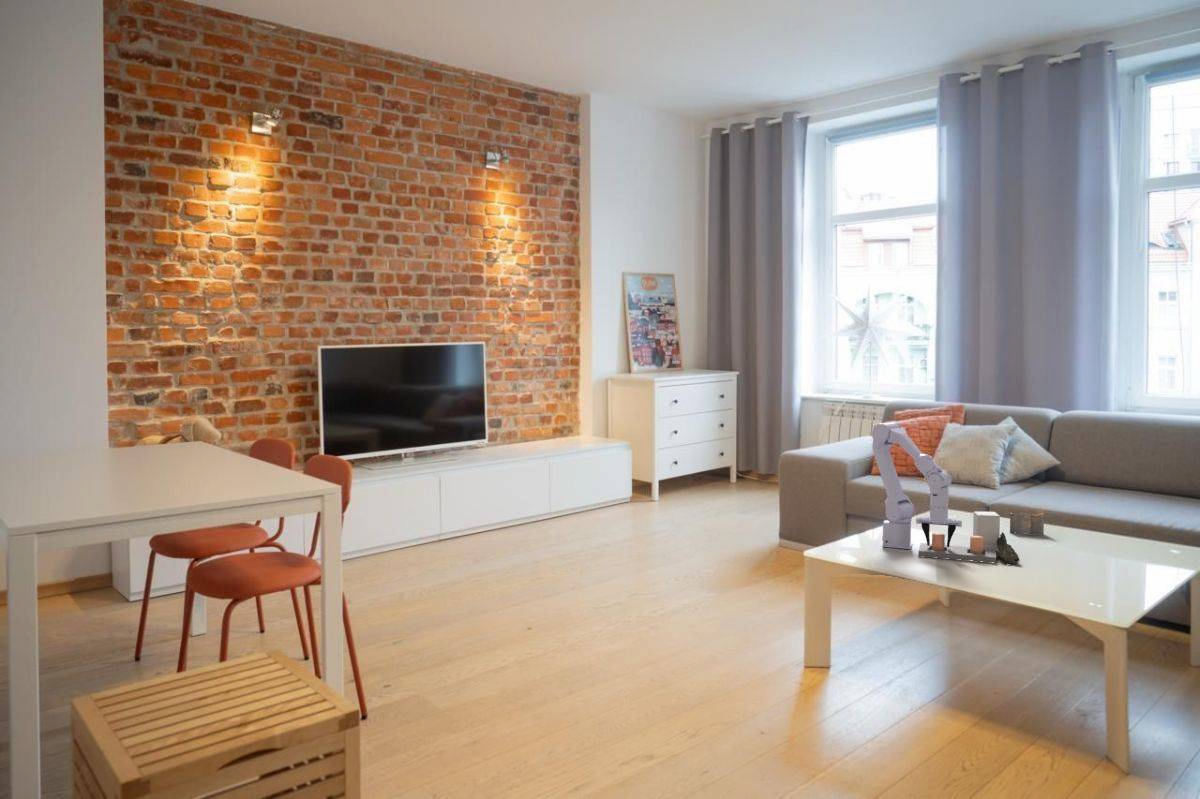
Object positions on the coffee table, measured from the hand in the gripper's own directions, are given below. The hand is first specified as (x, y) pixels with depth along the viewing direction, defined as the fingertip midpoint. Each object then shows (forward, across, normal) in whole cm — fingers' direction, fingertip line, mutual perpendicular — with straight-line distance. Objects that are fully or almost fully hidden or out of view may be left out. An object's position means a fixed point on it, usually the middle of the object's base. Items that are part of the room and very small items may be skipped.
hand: (938, 545), depth 302 cm
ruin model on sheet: (+4, +29, +45) cm, 54 cm away
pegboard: (+3, +6, 0) cm, 7 cm away
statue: (+3, +21, +3) cm, 22 cm away
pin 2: (+3, +12, 0) cm, 12 cm away
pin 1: (+3, 0, 0) cm, 3 cm away
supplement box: (+3, +15, +14) cm, 21 cm away
